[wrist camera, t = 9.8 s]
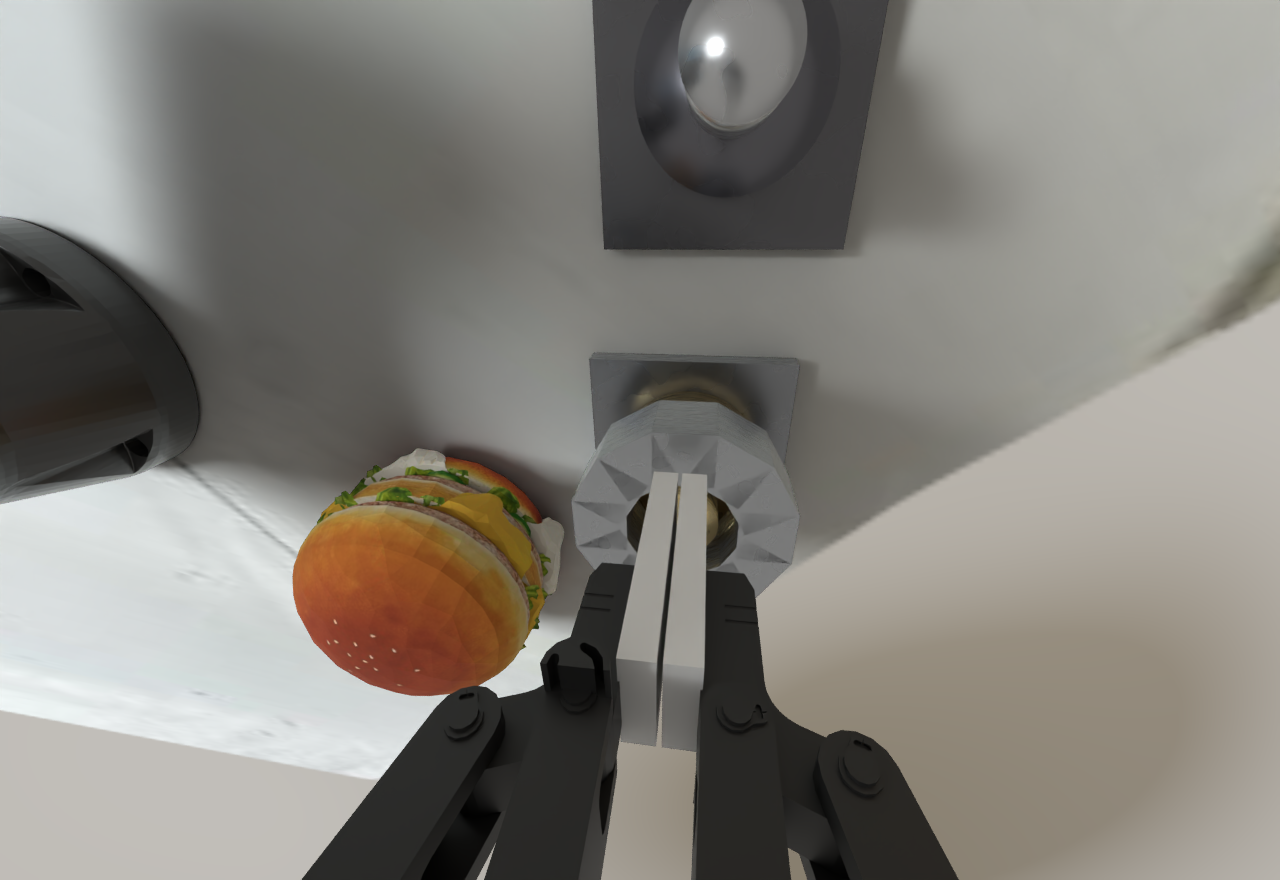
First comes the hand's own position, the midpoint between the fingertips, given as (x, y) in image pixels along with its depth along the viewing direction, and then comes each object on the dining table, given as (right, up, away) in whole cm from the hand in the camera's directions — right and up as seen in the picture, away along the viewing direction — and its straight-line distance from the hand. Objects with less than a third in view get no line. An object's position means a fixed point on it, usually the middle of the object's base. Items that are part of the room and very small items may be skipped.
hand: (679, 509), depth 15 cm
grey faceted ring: (+1, 0, +7) cm, 7 cm away
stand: (+2, +15, +3) cm, 16 cm away
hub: (+1, +2, +11) cm, 11 cm away
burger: (-12, -3, +16) cm, 20 cm away
